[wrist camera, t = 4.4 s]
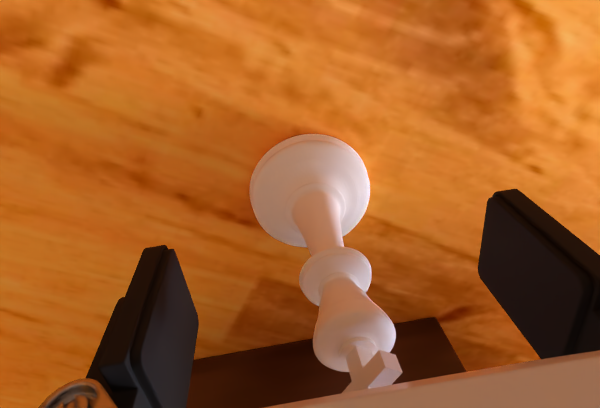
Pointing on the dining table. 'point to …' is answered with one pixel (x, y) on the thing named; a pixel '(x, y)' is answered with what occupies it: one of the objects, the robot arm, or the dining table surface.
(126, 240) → the dining table surface
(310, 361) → the open box
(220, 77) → the dining table surface
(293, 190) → the chess piece
